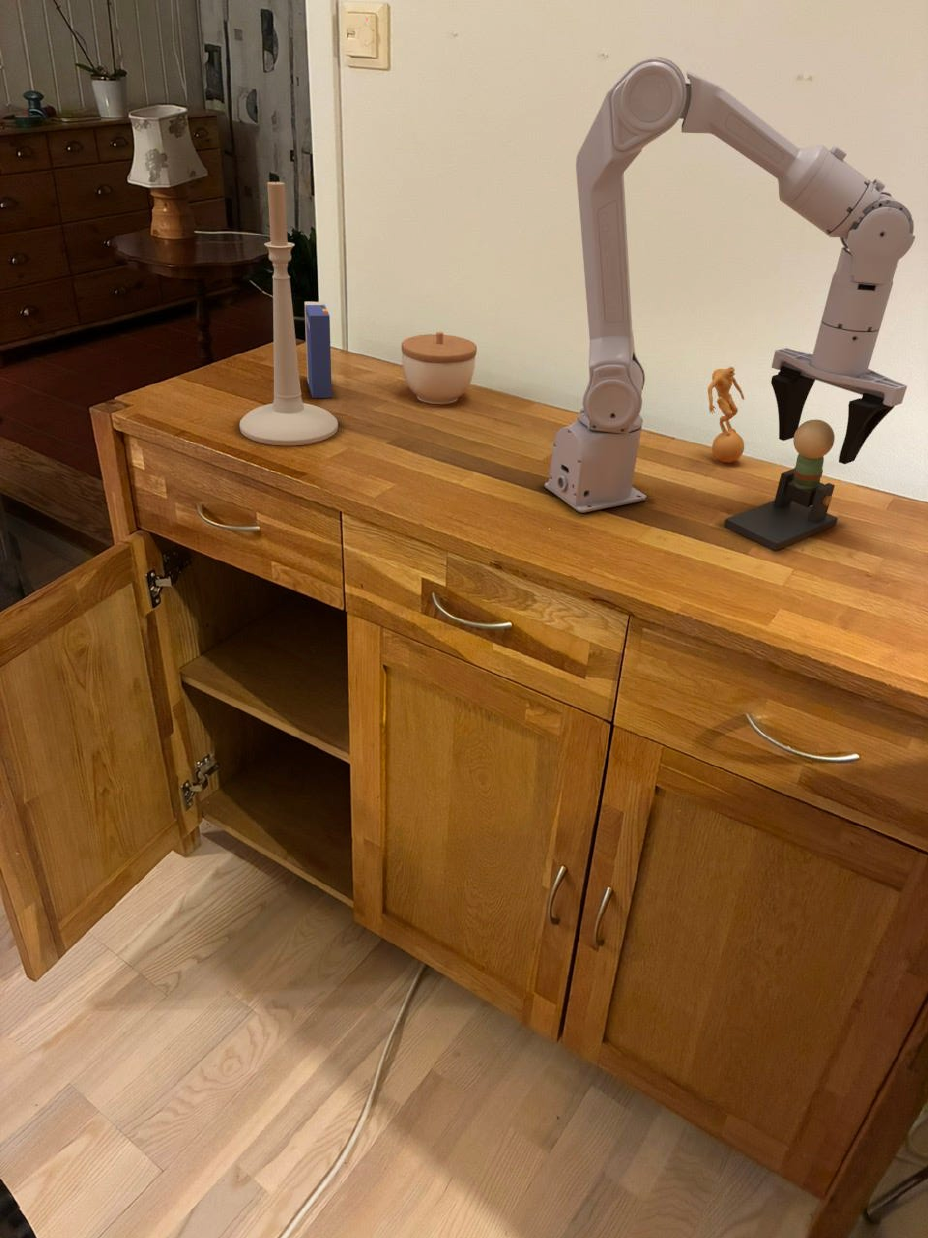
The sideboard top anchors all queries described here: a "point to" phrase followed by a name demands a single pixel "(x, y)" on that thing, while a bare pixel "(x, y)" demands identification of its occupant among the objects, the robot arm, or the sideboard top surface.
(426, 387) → the trinket box
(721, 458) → the figurine
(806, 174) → the robot arm
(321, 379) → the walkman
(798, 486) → the peg doll
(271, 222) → the candlestick
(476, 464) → the sideboard top surface
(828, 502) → the toy stand
